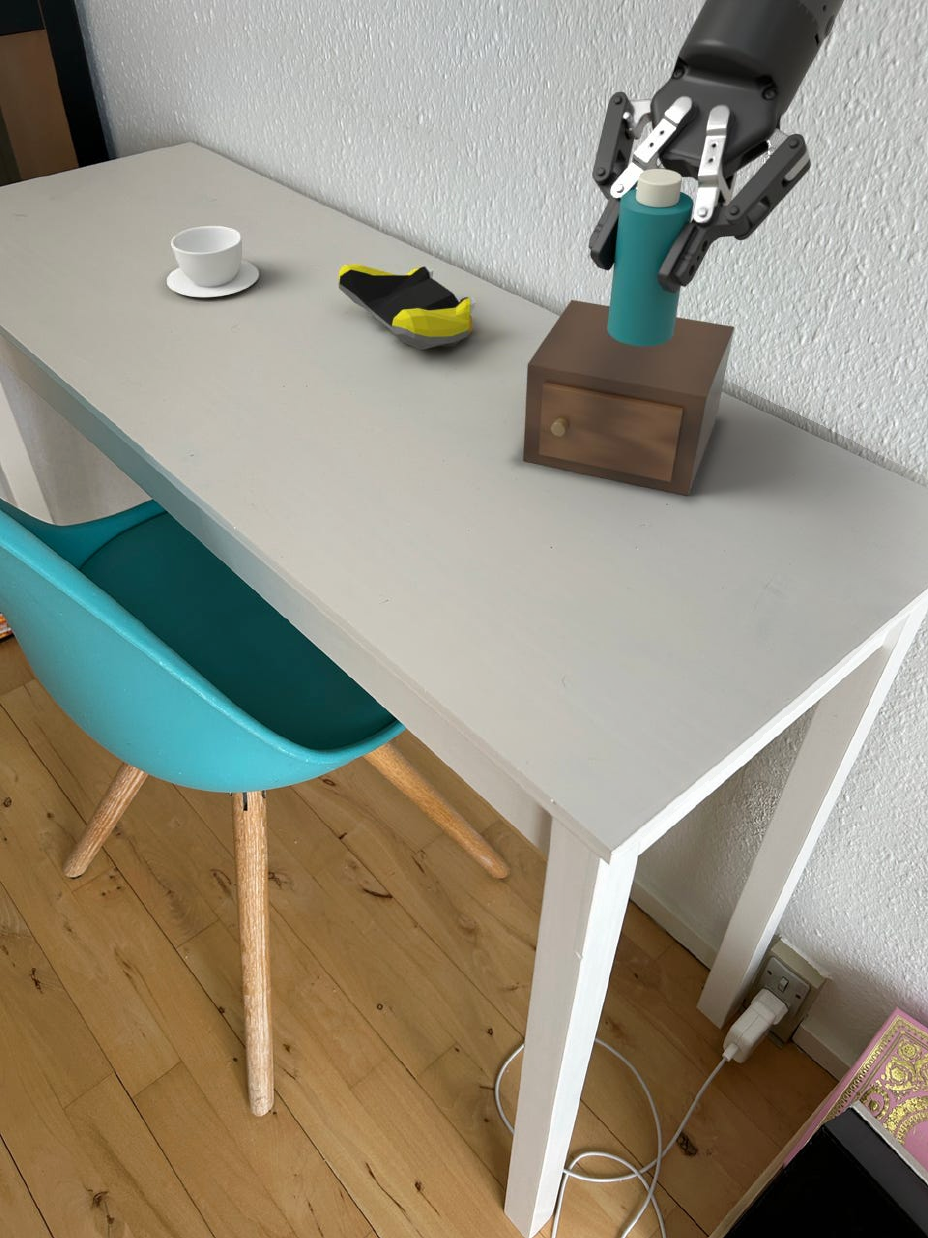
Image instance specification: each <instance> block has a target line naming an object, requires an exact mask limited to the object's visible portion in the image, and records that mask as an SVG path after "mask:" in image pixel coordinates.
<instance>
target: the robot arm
mask: <svg viewBox="0 0 928 1238" xmlns="http://www.w3.org/2000/svg"><path fill="white" fill-rule="evenodd" d="M844 2H845V0H705V1H704V3H703V6H702V7H701V9H700V11H699V13H698V15H697V17H696V19H695V21H694V23H693V25H692V26H691V28H690V30H689V32H688V34H687V36H686V38H685V40H684V42H683V44H682V46H681V48H680V50H679V52H678V55H677V57H676V60H675V64H674V67H673V70H672V73H671V76H670V77H669V79H668V80H667V82H666V83H664V84H663V86H662V87H660V88H659V89H657V90H656V92H655V93H654V95H653V96H652V98H643V99H632V100H631V99H629V97H628V95H627V93H626V92H624V91H617V92H614V93H613V94H612V95H611V96H610V98H609V100H608V104H607V109H606V112H605V116H604V122H603V125H602V129H601V134H600V138H599V143H598V147H597V152H596V156H595V159H594V164H593V167H592V168H593V169H592V174H591V177H592V179H593V181H594V182H595V184H596V185H597V187H598V188H599V190H600V192H601V193H602V194H603V196H604V197H605V199H606V200H607V204H606V205H605V208H604V209H603V212H602V214H600V215H601V216H600V218H599V220H598V221H597V224H596V225H595V227H594V229H593V231H592V233H591V235H590V237H589V240H588V246H587V247H588V248H589V249H590V252H589V256H590V257H589V258H590V260H592V262H593V263H594V264H595V266H596V267H597V268H598V269H600V270H601V269H602V270H605V271H607V272H608V271H610V270H611V269H612V268H613V267H614V259H615V250H616V240H617V231H618V221H619V212H620V202H621V197H622V196H623V194H625V193H626V192H628V191H630V190H633V189H637V184H638V176H639V174H640V173H641V172H643V171H646V170H651V169H665V170H670V171H674V172H676V173H678V174H680V175H681V177H682V178H692V179H694V180H696V181H697V186H698V187H697V192H696V196H695V202H694V206H693V212H692V219H691V223H689V222H685V223H684V225H683V226H682V228H681V230H680V232H679V234H678V236H677V238H676V240H675V242H674V244H673V245H672V247H671V249H670V251H669V253H668V255H667V257H666V259H665V261H664V263H663V265H662V266H661V268H660V270H659V273H658V277H657V280H658V282H659V283H660V285H661V287H662V288H663V290H665V291H667V292H670V293H673V294H675V293H677V292H678V290H679V288H680V286H681V287H684V288H686V287H687V286H688V285H689V284H691V282H693V280H694V278H695V276H696V274H697V272H698V270H699V269H700V266H701V264H702V263H703V261H704V259H705V257H706V255H707V253H708V251H709V249H710V247H711V245H712V244H713V243H714V242H715V241H717V240H718V239H721V238H728V237H733V238H734V239H735V240H737V241H744V240H747V239H748V238H750V237H751V236H752V235H753V233H754V232H755V231H756V230H757V229H758V228H759V227H760V225H761V224H762V223H763V222H764V221H765V220H766V219H767V217H768V216H769V215H770V214H771V213H772V212H773V211H774V210H775V209H776V208H777V206H778V205H779V204H780V203H781V202H782V201H783V200H784V199H785V198H786V196H787V195H789V193H790V192H791V191H792V190H793V189H794V187H796V185H798V183H799V182H800V181H801V180H802V179H803V178H804V176H805V175H806V174H807V173H808V172H809V171H810V170H811V166H812V162H811V157H810V152H809V148H808V145H807V143H806V140H805V137H804V136H803V135H802V134H801V133H793V134H791V135H789V134H787V133H785V132H784V131H782V130H781V121H782V118H783V116H784V115H785V114H786V112H787V111H788V110H789V108H790V106H791V104H792V103H793V100H794V98H795V97H796V94H797V92H798V91H799V89H800V87H801V85H802V83H803V81H804V79H805V77H806V76H807V74H808V72H809V70H810V68H811V66H812V64H813V63H814V61H815V59H816V57H817V55H818V53H819V51H820V49H821V47H822V45H823V44H824V42H825V40H826V39H827V38H828V37H829V35H830V34H831V32H832V31H833V27H834V25H835V22H836V19H837V17H838V15H839V13H840V11H841V9H842V7H843V4H844ZM649 123H651V129H652V131H651V132H650V133H649V134H648V135H647V137H646V138H645V139H644V140H643V141H642V142H641V144H640V145H639V146H638V147H637V148H636V149H635V151H634V152H633V155H632V151H633V146H634V142H635V141H637V140H640V139H641V138H642V133H643V131H644V129H645V127H646V125H648V124H649ZM763 155H764V156H763ZM631 156H632V160H631ZM761 156H763V159H762V163H763V164H762V165H761V166H760V167H759V169H758V170H757V171H756V172H755V173H754V175H752V177H750V179H749V180H748V181H747V182H746V183H745V185H744V186H743V187H742V188H741V189H740V190H739V191H738V192H737V194H736V195H735V196H734V197H733V195H734V190H735V185H736V181H737V176H738V172H739V171H740V170H742V169H743V168H745V167H746V166H748V165H749V164H751V163H752V162H754V161H755V160H757V159H758V158H760V157H761ZM658 160H659V162H660V163H659V165H658ZM630 161H631V163H630ZM680 289H681V288H680Z"/></svg>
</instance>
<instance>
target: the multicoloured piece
mask: <svg viewBox="0 0 928 1238" xmlns="http://www.w3.org/2000/svg"><path fill="white" fill-rule="evenodd" d="M433 278H434V269H433V267H431V266H427V267H426V266H419V267H415V268H413V269H411V270H410V271H408V272H407V273H403V274H396V273H392V272H388V271H386V270H382V269H378V268H374V267H371V266H367V265H363V264H359V263H351V264H343V265H342V266H341V268H340V269H339V270H338V283H337V285H338V289H339V290H340V291H341V292H342V293H343V294H344V295H346V296H347V297H348V299H350V300H351V302H352V303H354V304H356V305H357V306H359V307H361V308H363V309H364V310H365V311H366V312H368V313H369V314H370V315H371V316H372V317H373V318H375V319H376V320H378V321H379V322H380V323H382V324H383V325H384V326H385V327H386V328H387V329H389V330H390V331H391V332H392V333H393V334H394V335H395V336H396V337H397V338H398V340H400V341H401V342H402V343H403V344H405V345H408V346H411V347H413V348H415V349H418V350H425V349H431V348H434V347H442V348H451V347H455V346H456V345H457V344H459V342H460V341H462V340H464V339H465V338H467V337H469V335H470V333H471V332H472V330H473V316H472V312H473V310H474V308H475V304H476V298H475V297H468V296H467V297H466V296H465V297H463V298H461V299H460V301H459V300H458V297H457V296H456V295H455V294H454V293H453V292H452V291H451V290H449V289H448V288H447V287H445V286H444V285H443V284H440V282H438V281H437V280H435V279H433Z"/></svg>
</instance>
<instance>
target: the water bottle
mask: <svg viewBox="0 0 928 1238" xmlns="http://www.w3.org/2000/svg"><path fill="white" fill-rule="evenodd" d="M682 183H683V177H681V175H680V174H678V173H676V172H674V171H670V170H665V169H651V170H646V171H643V172H641V173H640V174H639V176H638V184H637V189H633V190H630V191H628V192H626V193H625V194H623V196H622V197H621V202H620V212H619V221H618V231H617V240H616V250H615V259H614V264H613V270H612V279H611V280H612V281H611V290H610V298H609V306H610V307H609V316H608V326H607V330H608V333H609V334H610V336H611V337H613V338H614V339H616V340H617V341H619V342H622V343H625V344H628V345H633V346H655V345H659V344H662V343H665V342H667V341H668V340H670V339H671V337H672V336H673V333H674V327H675V320H676V317H677V312H678V307H679V300H680V294H681V287H682V286H680V288H679V290H678V292H677V293H675V294H673V293H670V292H667V291H665V290H663V288H662V287H661V285H660V283H659V282H658V280H657V277H658V273H659V270H660V268H661V266H662V265H663V263H664V261H665V259H666V257H667V255H668V253H669V251H670V249H671V247H672V245H673V244H674V242H675V240H676V238H677V236H678V234H679V232H680V230H681V228H682V226H683V225H684V223H685V222H689V223H691V222H692V219H693V211H694V206H695V202H694V199H693V198H692V197H691V196H690V195H689V194H687V193H685V192H683V191H681V189H682Z"/></svg>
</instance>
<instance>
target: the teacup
mask: <svg viewBox="0 0 928 1238" xmlns="http://www.w3.org/2000/svg"><path fill="white" fill-rule="evenodd" d="M242 241H243V238H242V234H241V233H240V231H238V230H236V229H234V228H231V227H227V226H222V225H203V226H196V227H192V228H188V229H185V230H182V231H181V232H178V233H177V234H176V235H175V236H174V237H173V238H172V239H171V242H170V244H171V249H172V251H173V254H174V257H175V260H176V262H177V265H178V267H176V268H175V269H174V270H172V272H170V273H169V274H168V276H167V278H166V284H167V287H168V288H169V289H170V290H171V291H173V292H175V293H177V294H180V295H183V296H188V297H194V298H214V297H215V298H216V297H223V296H228V295H231V294H232V295H233V294H236V293H239V292H241V291H243V290H246V289H247V288H249V287H250V286H253V284H254V283H256V282H257V280H258V279H259V277H260V272H259V269H258V268H257V267H256V266H255V265H254V264H252V263H250V262H249V261H246V260H243V242H242Z"/></svg>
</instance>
